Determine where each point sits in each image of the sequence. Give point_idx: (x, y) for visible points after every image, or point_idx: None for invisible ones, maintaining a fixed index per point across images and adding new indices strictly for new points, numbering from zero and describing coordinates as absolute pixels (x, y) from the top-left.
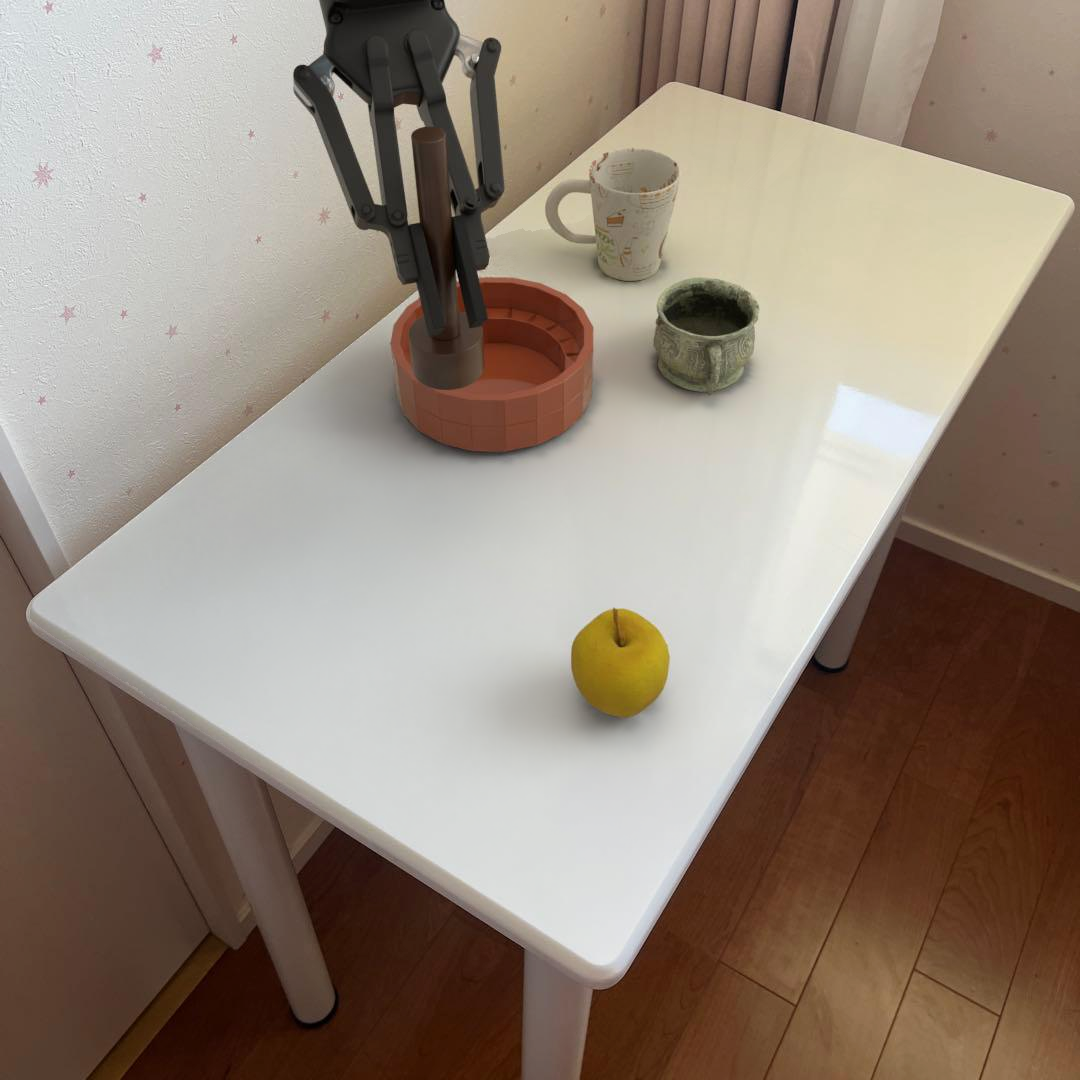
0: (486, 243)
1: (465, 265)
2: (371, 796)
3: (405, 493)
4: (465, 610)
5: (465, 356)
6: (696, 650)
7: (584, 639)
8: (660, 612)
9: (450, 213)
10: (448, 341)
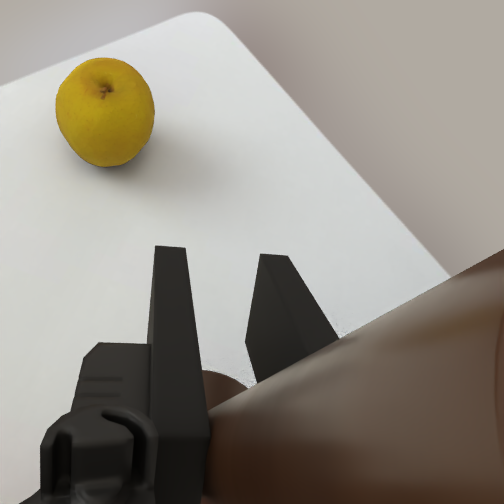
0: (78, 386)
1: (187, 318)
2: (322, 153)
3: None
4: (206, 289)
5: None
6: (6, 162)
7: (140, 103)
8: (13, 213)
9: (229, 408)
10: None
